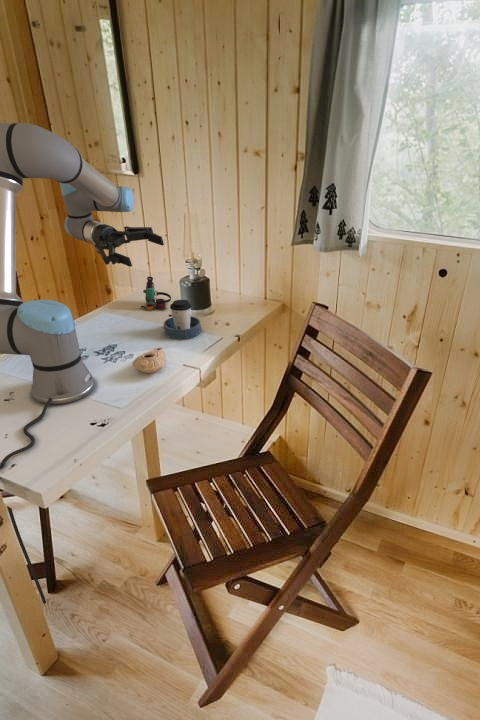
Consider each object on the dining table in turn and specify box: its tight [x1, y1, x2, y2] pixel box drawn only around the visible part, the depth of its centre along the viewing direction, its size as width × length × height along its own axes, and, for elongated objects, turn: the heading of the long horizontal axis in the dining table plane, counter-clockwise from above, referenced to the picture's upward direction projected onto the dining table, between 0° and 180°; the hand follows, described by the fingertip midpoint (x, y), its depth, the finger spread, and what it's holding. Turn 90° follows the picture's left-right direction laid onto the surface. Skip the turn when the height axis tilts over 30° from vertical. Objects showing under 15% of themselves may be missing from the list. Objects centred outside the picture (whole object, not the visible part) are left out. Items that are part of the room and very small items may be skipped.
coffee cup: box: [169, 299, 192, 330], centre depth 154 cm, size 7×7×10 cm
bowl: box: [163, 315, 202, 340], centre depth 156 cm, size 12×12×4 cm
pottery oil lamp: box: [131, 347, 166, 375], centre depth 134 cm, size 9×12×7 cm
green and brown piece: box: [142, 276, 172, 311], centre depth 174 cm, size 9×11×10 cm
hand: (146, 251), depth 143 cm, fingers open, 13 cm apart
